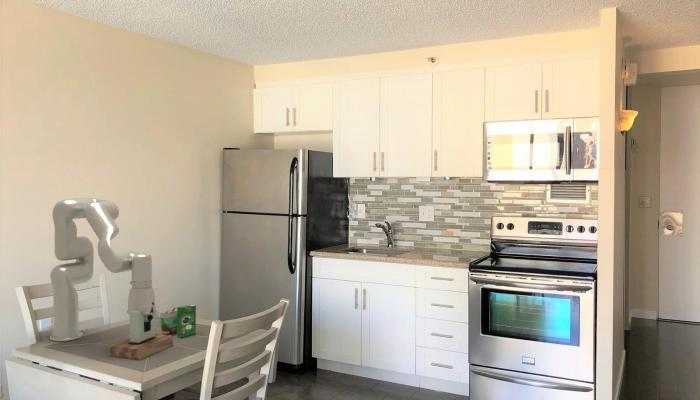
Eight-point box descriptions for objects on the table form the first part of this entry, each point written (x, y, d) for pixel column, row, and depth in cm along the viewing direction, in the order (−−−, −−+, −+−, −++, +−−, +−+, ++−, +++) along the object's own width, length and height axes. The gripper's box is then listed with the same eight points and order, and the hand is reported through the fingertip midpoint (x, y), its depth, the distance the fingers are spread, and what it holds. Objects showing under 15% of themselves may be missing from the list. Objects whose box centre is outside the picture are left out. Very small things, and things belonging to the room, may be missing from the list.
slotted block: (109, 356, 218) (109, 345, 218) (144, 341, 237) (144, 332, 237) (140, 360, 214) (140, 349, 214) (172, 345, 233) (172, 335, 233)
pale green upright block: (129, 341, 221) (129, 311, 221) (146, 335, 230) (146, 305, 230) (138, 342, 220) (138, 311, 219) (154, 335, 229) (154, 306, 229)
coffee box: (192, 333, 251) (192, 303, 250) (196, 334, 249) (196, 304, 248) (176, 336, 245) (176, 306, 244) (180, 338, 243) (180, 307, 242)
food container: (173, 337, 245) (172, 314, 244) (159, 336, 246) (159, 313, 245) (186, 329, 257) (186, 307, 256) (174, 328, 258) (174, 306, 258)
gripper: (117, 285, 223) (118, 331, 224) (153, 287, 218) (154, 335, 219) (130, 281, 230) (131, 326, 231) (165, 284, 225) (166, 330, 226)
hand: (142, 330), depth 225 cm, fingers closed on pale green upright block, 4 cm apart
